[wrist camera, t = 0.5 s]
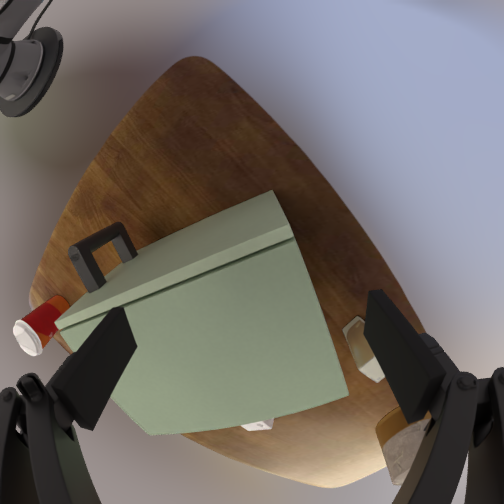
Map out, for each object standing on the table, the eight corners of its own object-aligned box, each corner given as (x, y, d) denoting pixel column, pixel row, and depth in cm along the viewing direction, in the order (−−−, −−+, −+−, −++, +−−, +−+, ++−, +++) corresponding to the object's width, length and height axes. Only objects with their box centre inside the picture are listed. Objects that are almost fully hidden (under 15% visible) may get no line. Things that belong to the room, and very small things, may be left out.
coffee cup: (58, 321, 51) (24, 356, 37) (44, 291, 49) (6, 323, 35) (80, 321, 51) (45, 360, 37) (66, 289, 48) (25, 323, 34)
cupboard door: (119, 221, 43) (26, 274, 21) (257, 154, 39) (255, 142, 17) (137, 256, 45) (58, 330, 23) (274, 195, 41) (294, 236, 19)
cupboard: (138, 257, 45) (59, 332, 23) (275, 197, 42) (295, 240, 19) (185, 337, 51) (149, 435, 28) (312, 293, 47) (349, 395, 24)
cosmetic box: (374, 329, 49) (397, 368, 38) (359, 343, 50) (378, 384, 39) (356, 313, 48) (378, 353, 36) (340, 328, 49) (358, 370, 38)
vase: (390, 439, 65) (413, 508, 36) (365, 428, 61) (389, 512, 32) (434, 408, 60) (468, 476, 31) (416, 392, 57) (456, 475, 28)
